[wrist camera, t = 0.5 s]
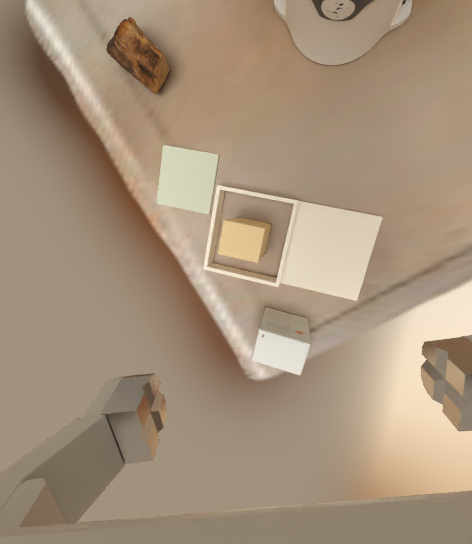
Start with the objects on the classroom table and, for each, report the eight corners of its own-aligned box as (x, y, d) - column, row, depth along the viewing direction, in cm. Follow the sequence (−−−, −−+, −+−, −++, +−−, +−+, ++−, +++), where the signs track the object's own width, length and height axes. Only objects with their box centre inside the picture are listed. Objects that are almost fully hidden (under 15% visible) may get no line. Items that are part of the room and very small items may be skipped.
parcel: (237, 217, 52) (223, 219, 42) (271, 224, 51) (264, 228, 42) (232, 245, 53) (217, 253, 44) (265, 252, 52) (257, 263, 43)
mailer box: (222, 186, 51) (217, 185, 48) (381, 216, 47) (388, 217, 44) (209, 265, 55) (203, 269, 52) (356, 300, 51) (360, 306, 48)
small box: (258, 333, 56) (249, 361, 46) (265, 305, 54) (257, 328, 44) (300, 345, 55) (300, 377, 45) (309, 318, 53) (311, 344, 43)
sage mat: (164, 145, 52) (163, 144, 51) (219, 155, 50) (218, 154, 50) (157, 203, 54) (156, 203, 54) (209, 214, 53) (209, 214, 52)
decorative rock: (186, 76, 49) (156, 41, 39) (163, 106, 51) (129, 81, 40) (135, 22, 49) (91, -27, 38) (114, 55, 50) (66, 16, 40)
